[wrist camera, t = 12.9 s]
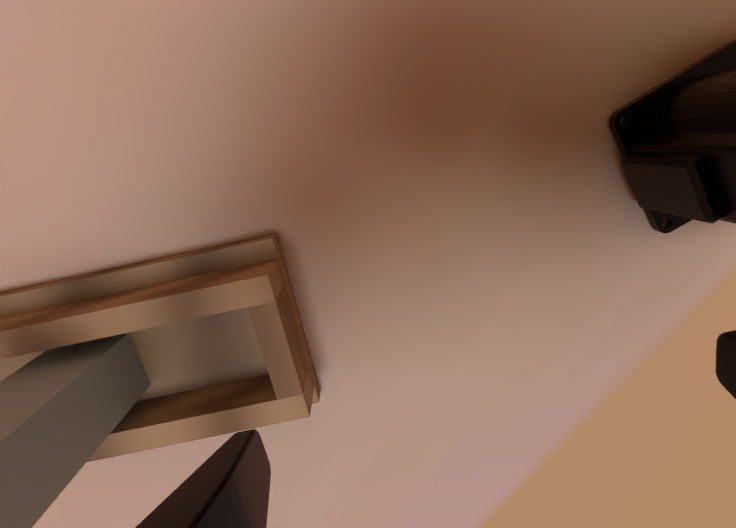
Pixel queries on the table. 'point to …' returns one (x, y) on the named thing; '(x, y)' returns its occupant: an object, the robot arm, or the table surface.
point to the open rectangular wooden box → (180, 340)
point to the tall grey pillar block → (61, 419)
